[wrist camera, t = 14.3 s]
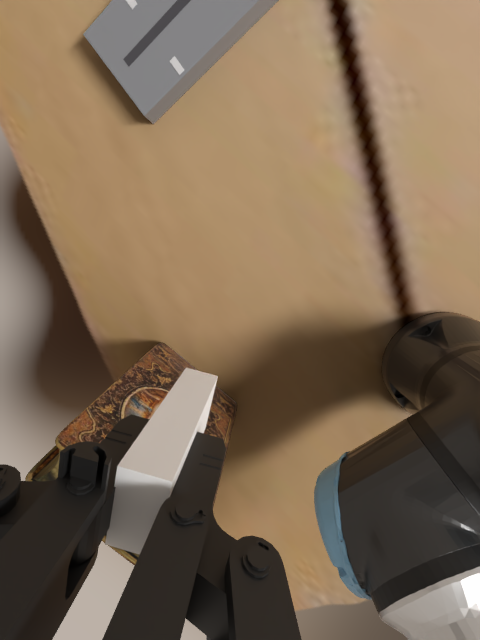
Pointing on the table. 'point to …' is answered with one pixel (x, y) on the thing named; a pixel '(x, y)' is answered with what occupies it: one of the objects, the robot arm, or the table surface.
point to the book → (135, 411)
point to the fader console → (168, 44)
